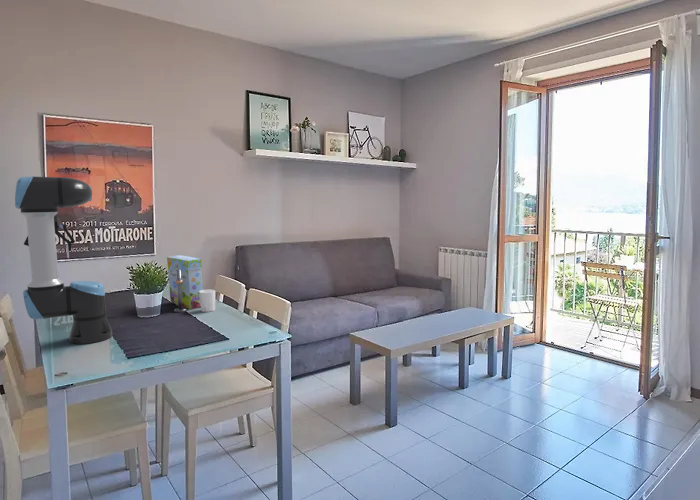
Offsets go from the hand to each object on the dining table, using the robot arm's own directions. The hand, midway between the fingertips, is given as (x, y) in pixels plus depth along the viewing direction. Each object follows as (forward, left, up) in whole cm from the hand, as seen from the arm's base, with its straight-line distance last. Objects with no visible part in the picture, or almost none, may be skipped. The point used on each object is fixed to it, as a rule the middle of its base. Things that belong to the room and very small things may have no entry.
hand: (51, 258), depth 215 cm
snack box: (-10, -59, -28) cm, 66 cm away
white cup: (-28, -65, -28) cm, 77 cm away
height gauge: (-22, -53, -28) cm, 64 cm away
